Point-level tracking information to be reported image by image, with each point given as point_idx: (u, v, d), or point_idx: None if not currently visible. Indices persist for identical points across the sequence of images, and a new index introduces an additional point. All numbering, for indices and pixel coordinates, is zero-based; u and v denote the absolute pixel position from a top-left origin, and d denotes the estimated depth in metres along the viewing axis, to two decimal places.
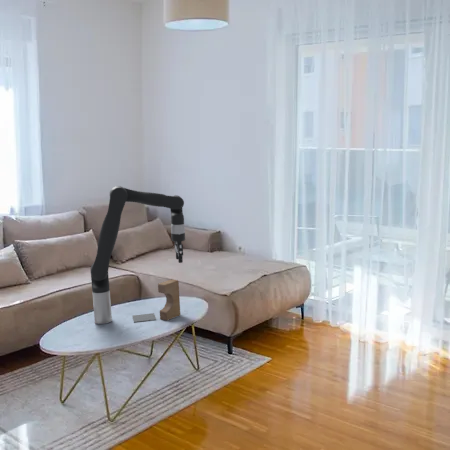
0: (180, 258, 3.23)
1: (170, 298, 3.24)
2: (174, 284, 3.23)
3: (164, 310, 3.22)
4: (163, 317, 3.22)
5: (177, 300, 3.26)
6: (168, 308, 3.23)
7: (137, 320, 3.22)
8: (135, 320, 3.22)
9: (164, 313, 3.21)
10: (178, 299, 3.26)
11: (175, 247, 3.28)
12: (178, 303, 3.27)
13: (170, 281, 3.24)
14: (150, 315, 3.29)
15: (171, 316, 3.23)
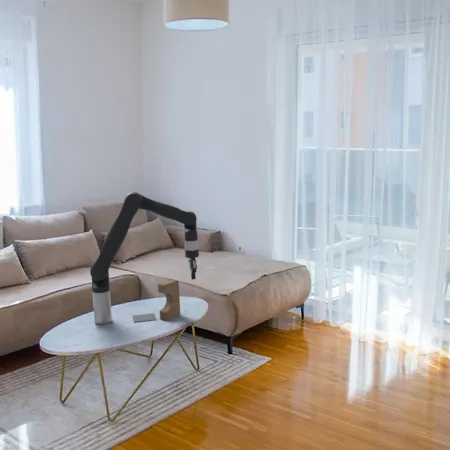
0: (193, 275, 3.24)
1: (170, 298, 3.24)
2: (174, 284, 3.23)
3: (164, 310, 3.22)
4: (163, 317, 3.22)
5: (177, 300, 3.26)
6: (168, 308, 3.23)
7: (137, 320, 3.22)
8: (135, 320, 3.22)
9: (164, 313, 3.21)
10: (178, 299, 3.26)
11: None
12: (178, 303, 3.27)
13: (170, 281, 3.24)
14: (150, 315, 3.29)
15: (171, 316, 3.23)
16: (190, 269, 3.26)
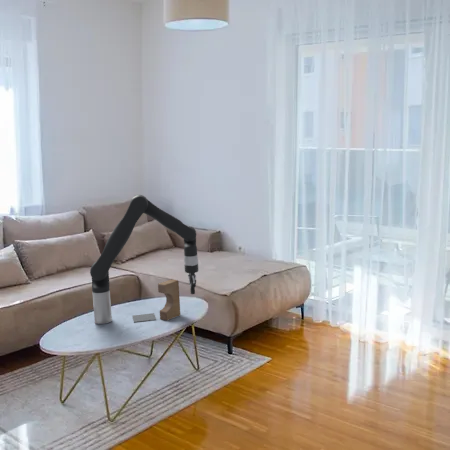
0: (192, 290, 3.25)
1: (170, 298, 3.24)
2: (174, 284, 3.23)
3: (164, 310, 3.22)
4: (163, 317, 3.22)
5: (177, 300, 3.26)
6: (168, 308, 3.23)
7: (137, 320, 3.22)
8: (135, 320, 3.22)
9: (164, 313, 3.21)
10: (178, 299, 3.26)
11: (189, 278, 3.26)
12: (178, 303, 3.27)
13: (170, 281, 3.24)
14: (150, 315, 3.29)
15: (171, 316, 3.23)
16: (189, 284, 3.27)
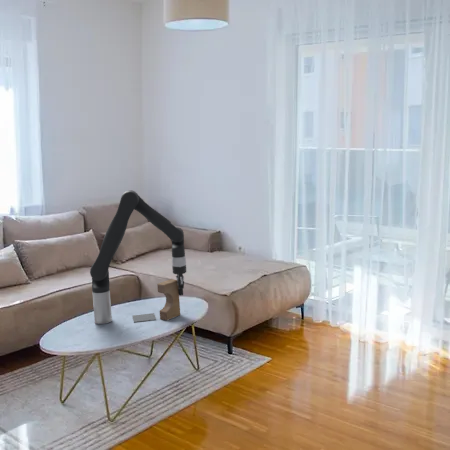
0: (181, 291, 3.24)
1: (169, 298, 3.24)
2: (173, 284, 3.23)
3: (164, 310, 3.22)
4: (163, 317, 3.22)
5: (177, 299, 3.26)
6: (168, 308, 3.23)
7: (137, 320, 3.22)
8: (135, 320, 3.22)
9: (164, 313, 3.21)
10: (178, 299, 3.26)
11: (177, 280, 3.25)
12: (178, 303, 3.27)
13: (169, 281, 3.24)
14: (150, 315, 3.29)
15: (171, 316, 3.23)
16: (178, 285, 3.26)
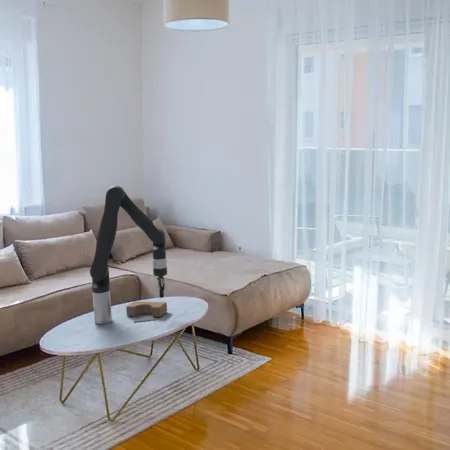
0: (161, 293, 3.22)
1: (145, 307, 3.32)
2: (133, 303, 3.36)
3: None
4: (157, 311, 3.25)
5: (150, 302, 3.35)
6: (152, 308, 3.29)
7: (137, 320, 3.22)
8: (135, 320, 3.22)
9: (153, 309, 3.25)
10: (150, 302, 3.36)
11: (157, 282, 3.22)
12: (153, 302, 3.35)
13: None
14: (150, 315, 3.29)
15: (159, 305, 3.28)
16: (158, 287, 3.23)
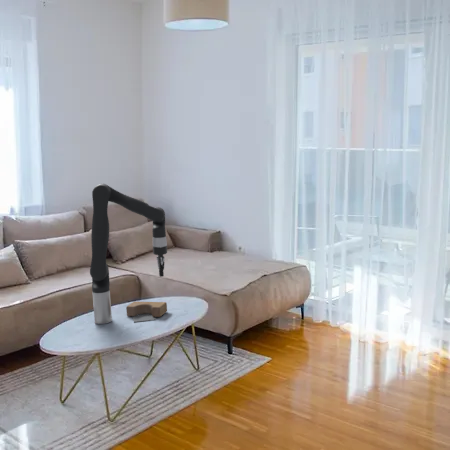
0: (161, 272, 3.20)
1: (145, 307, 3.32)
2: (133, 303, 3.36)
3: None
4: (157, 311, 3.25)
5: (150, 302, 3.35)
6: (152, 308, 3.29)
7: (137, 320, 3.22)
8: (135, 320, 3.22)
9: (153, 309, 3.25)
10: (150, 302, 3.36)
11: None
12: (153, 302, 3.35)
13: None
14: (150, 315, 3.29)
15: (159, 305, 3.28)
16: (158, 266, 3.21)
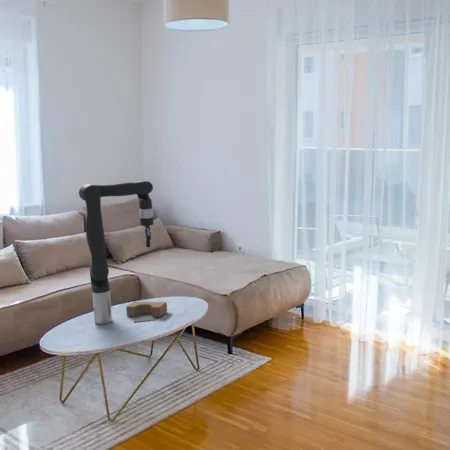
0: (148, 243, 3.32)
1: (145, 307, 3.32)
2: (133, 303, 3.36)
3: None
4: (157, 311, 3.25)
5: (150, 302, 3.35)
6: (152, 308, 3.29)
7: (137, 320, 3.22)
8: (135, 320, 3.22)
9: (153, 309, 3.25)
10: (150, 302, 3.36)
11: None
12: (153, 302, 3.35)
13: None
14: (150, 315, 3.29)
15: (159, 305, 3.28)
16: (145, 237, 3.33)
